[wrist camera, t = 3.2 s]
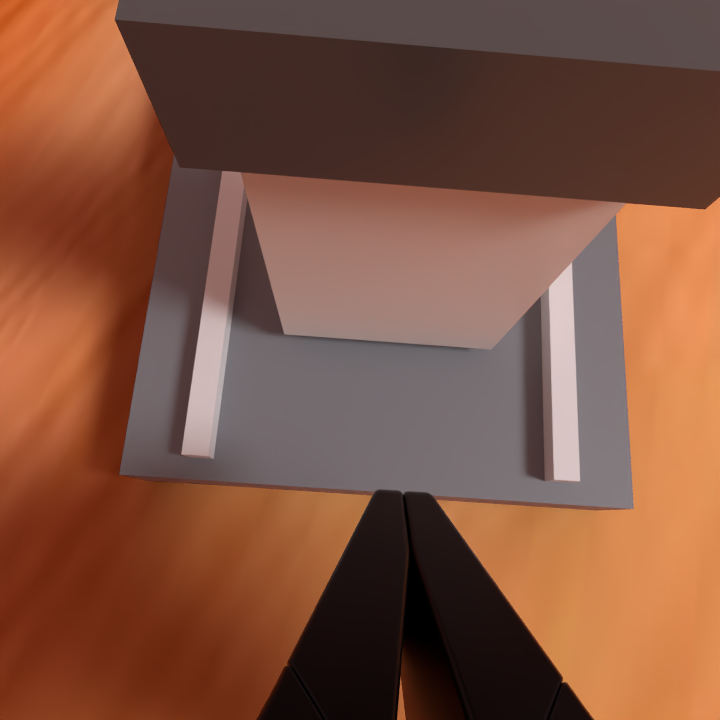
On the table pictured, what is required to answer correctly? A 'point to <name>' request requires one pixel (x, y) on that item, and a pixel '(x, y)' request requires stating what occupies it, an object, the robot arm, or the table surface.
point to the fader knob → (433, 142)
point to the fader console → (370, 382)
